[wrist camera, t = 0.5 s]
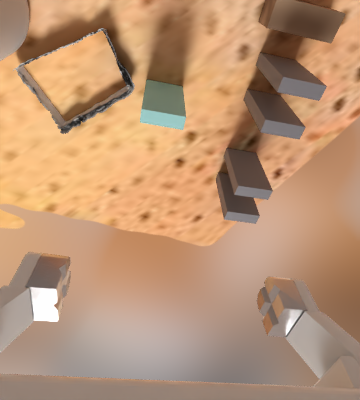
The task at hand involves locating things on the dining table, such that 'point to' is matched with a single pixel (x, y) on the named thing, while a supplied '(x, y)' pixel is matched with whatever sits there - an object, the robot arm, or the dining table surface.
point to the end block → (301, 19)
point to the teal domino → (163, 105)
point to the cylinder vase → (12, 25)
